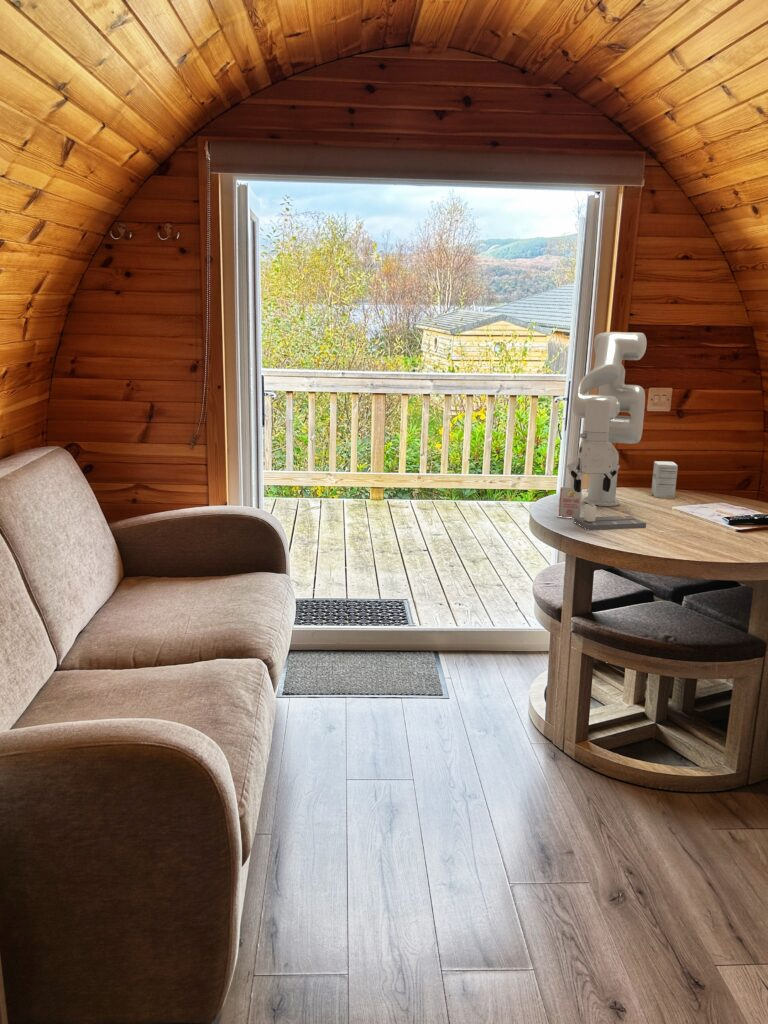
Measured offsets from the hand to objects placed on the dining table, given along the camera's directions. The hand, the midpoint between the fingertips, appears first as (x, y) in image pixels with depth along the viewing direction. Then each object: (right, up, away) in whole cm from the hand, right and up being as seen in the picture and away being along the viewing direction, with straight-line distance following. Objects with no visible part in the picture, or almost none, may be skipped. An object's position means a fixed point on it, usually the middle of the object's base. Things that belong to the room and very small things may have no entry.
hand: (591, 491), depth 253 cm
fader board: (+7, -11, +5) cm, 14 cm away
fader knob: (0, -9, +3) cm, 10 cm away
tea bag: (-4, -9, +14) cm, 17 cm away
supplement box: (+40, -1, +49) cm, 63 cm away
